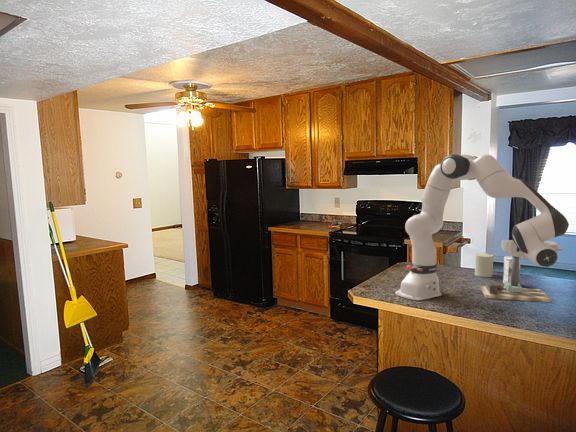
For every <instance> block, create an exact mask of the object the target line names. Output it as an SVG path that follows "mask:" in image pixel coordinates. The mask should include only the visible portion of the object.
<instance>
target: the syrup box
mask: <svg viewBox="0 0 576 432" xmlns="http://www.w3.org/2000/svg"><path fill="white" fill-rule="evenodd" d="M511 271H512V256H510V255H508V256H506V255H505V256H503V273H502V274H503V275H502V284H504V281H507V282H508V283H511ZM520 273H521V258H520V259H519V280H518V284H519V285H520V276H521V275H520Z"/></svg>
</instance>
